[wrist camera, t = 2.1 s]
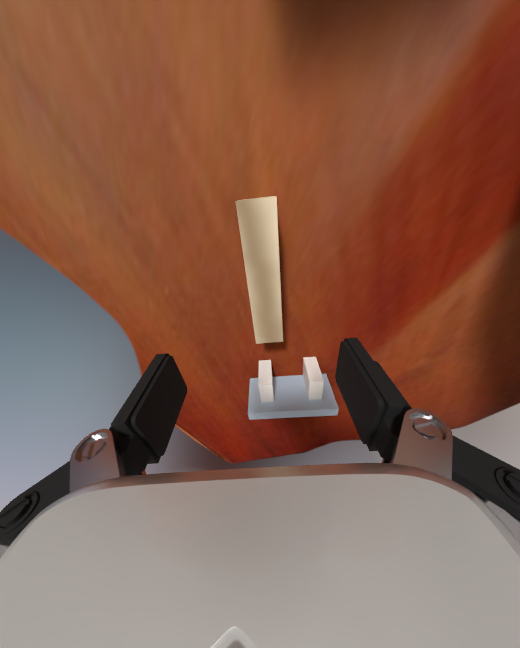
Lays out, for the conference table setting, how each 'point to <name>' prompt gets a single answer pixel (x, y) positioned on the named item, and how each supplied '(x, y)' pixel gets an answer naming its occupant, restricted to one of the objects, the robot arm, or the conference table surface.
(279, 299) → the rail
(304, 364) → the slotted stand base
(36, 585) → the robot arm
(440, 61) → the conference table surface
